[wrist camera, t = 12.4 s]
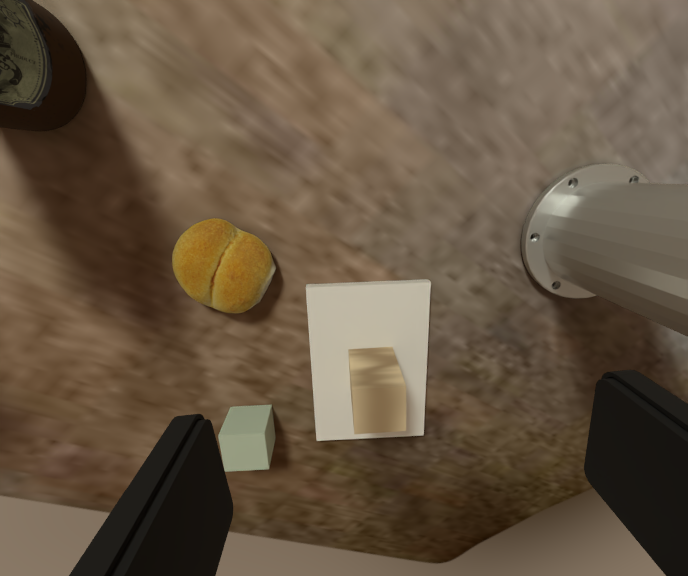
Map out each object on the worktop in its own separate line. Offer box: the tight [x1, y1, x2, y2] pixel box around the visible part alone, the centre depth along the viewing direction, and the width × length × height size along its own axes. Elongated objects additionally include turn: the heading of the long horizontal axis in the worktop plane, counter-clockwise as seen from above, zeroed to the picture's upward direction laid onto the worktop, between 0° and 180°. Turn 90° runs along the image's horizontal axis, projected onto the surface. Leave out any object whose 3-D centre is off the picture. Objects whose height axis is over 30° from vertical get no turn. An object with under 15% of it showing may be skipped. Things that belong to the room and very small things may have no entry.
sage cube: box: [218, 405, 276, 472], centre depth 37 cm, size 4×4×4 cm
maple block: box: [348, 347, 406, 434], centre depth 33 cm, size 4×4×7 cm
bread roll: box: [172, 218, 276, 313], centre depth 32 cm, size 8×9×4 cm
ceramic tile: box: [306, 279, 431, 441], centre depth 37 cm, size 12×18×1 cm, turn 2°
